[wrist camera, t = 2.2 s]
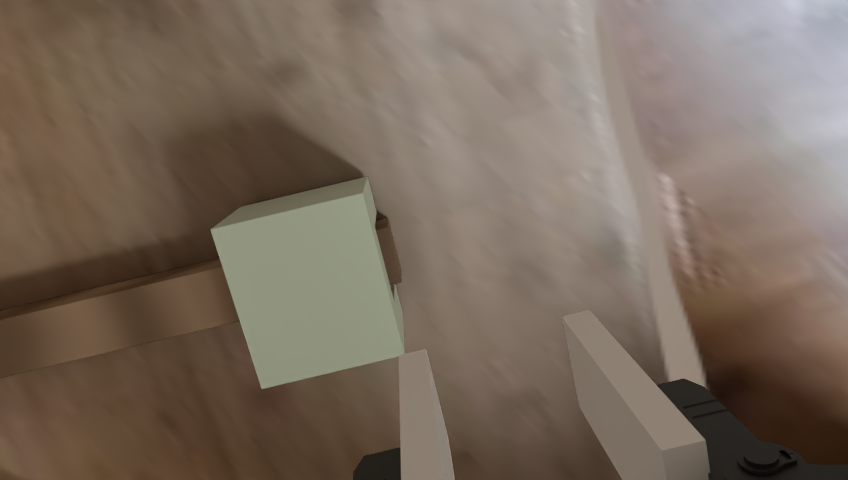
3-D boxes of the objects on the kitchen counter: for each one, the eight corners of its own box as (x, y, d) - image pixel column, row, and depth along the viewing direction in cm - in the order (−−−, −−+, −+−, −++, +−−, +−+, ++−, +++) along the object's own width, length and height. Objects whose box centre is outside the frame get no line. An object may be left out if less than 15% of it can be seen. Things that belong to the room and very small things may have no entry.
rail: (379, 182, 35) (376, 201, 29) (409, 302, 36) (412, 343, 30) (-105, 298, 35) (-206, 340, 29) (-54, 412, 36) (-139, 474, 31)
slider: (367, 176, 34) (362, 192, 29) (402, 314, 36) (404, 355, 30) (240, 207, 34) (210, 229, 29) (281, 343, 36) (261, 389, 31)
